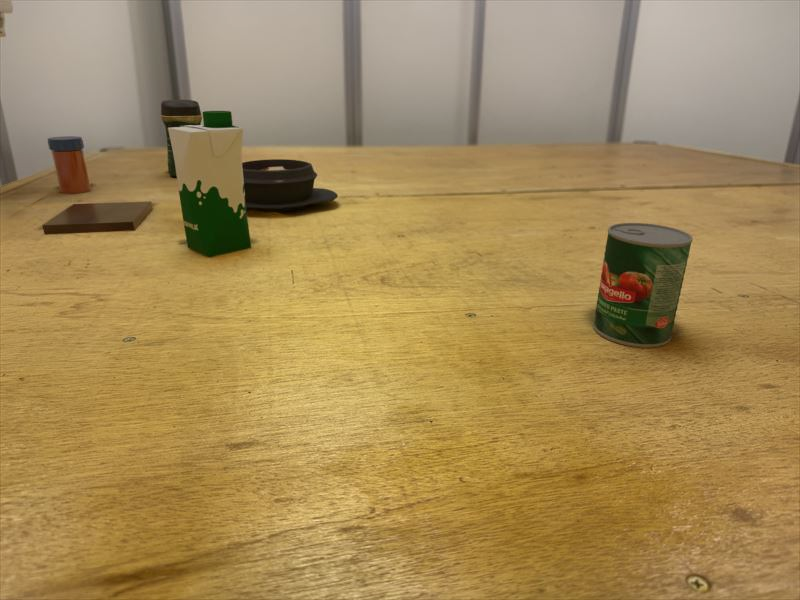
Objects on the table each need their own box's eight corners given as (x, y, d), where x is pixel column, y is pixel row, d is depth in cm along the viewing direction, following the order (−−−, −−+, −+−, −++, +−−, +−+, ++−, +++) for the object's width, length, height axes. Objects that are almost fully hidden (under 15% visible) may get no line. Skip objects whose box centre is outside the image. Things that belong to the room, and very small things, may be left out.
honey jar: (56, 194, 120) (44, 142, 116) (66, 188, 126) (54, 138, 122) (86, 193, 122) (75, 141, 117) (94, 187, 127) (84, 138, 123)
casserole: (213, 222, 100) (207, 175, 97) (211, 200, 116) (206, 160, 113) (347, 213, 107) (346, 169, 104) (328, 194, 124) (326, 155, 120)
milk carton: (259, 248, 86) (247, 112, 78) (204, 260, 80) (185, 115, 72) (231, 236, 91) (217, 109, 84) (178, 247, 85) (158, 111, 78)
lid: (45, 151, 117) (42, 139, 116) (56, 147, 122) (53, 136, 122) (78, 150, 118) (76, 139, 117) (87, 146, 124) (85, 136, 123)
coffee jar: (171, 179, 138) (160, 100, 131) (167, 174, 144) (156, 99, 137) (211, 176, 142) (202, 100, 135) (205, 171, 149) (196, 98, 142)
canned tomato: (681, 330, 60) (703, 232, 56) (656, 355, 54) (679, 249, 50) (609, 310, 65) (625, 218, 60) (580, 331, 59) (595, 232, 55)
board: (44, 234, 92) (42, 225, 91) (75, 211, 106) (73, 203, 105) (134, 230, 94) (132, 221, 94) (152, 208, 109) (151, 201, 108)
